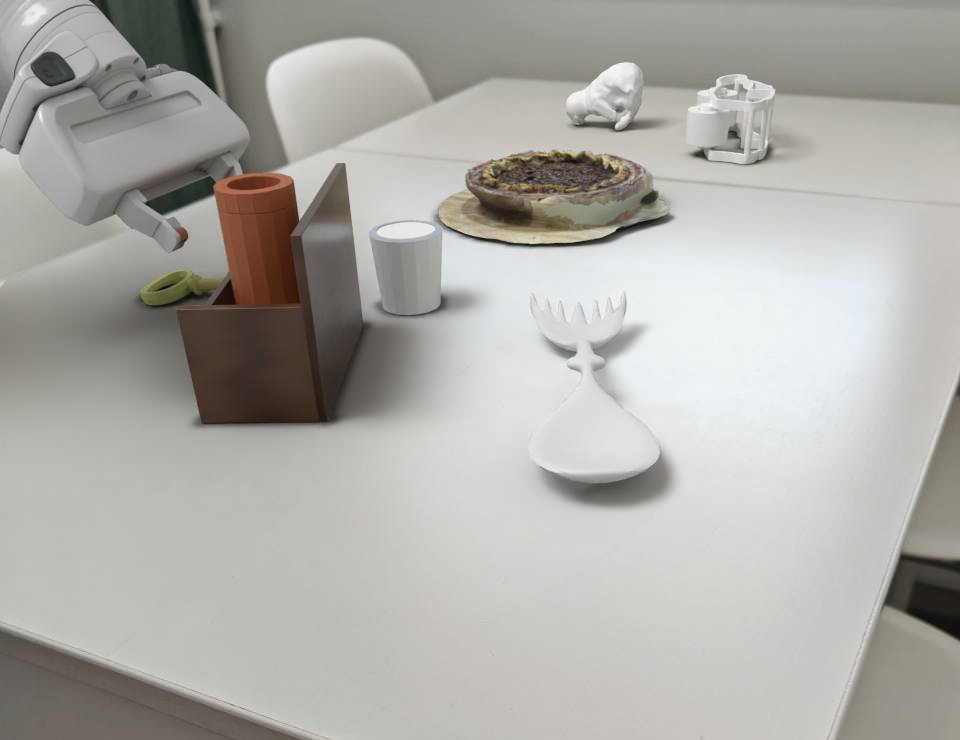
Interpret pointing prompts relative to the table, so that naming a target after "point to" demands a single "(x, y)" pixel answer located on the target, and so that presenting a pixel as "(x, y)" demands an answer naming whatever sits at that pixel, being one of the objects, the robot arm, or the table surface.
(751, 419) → the table surface
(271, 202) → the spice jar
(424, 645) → the table surface
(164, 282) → the key
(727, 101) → the white strut cage
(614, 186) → the pie
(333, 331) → the box
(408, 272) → the white cup
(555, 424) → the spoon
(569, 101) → the white animal figurine
